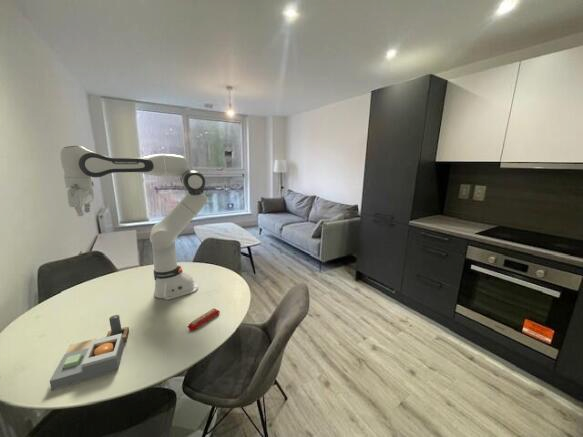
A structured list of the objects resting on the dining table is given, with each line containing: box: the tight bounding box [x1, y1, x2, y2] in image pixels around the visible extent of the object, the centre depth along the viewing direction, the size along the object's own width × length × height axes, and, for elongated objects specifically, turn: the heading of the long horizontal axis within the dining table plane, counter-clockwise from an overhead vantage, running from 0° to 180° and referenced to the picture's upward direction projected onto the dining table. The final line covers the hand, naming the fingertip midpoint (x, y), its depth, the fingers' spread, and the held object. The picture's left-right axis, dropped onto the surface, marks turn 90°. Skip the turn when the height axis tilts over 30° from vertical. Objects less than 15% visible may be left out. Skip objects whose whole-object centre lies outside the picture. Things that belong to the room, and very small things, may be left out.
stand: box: [106, 326, 130, 344], centre depth 95 cm, size 7×7×2 cm
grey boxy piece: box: [49, 333, 125, 391], centre depth 81 cm, size 17×12×6 cm
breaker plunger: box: [94, 343, 114, 356], centre depth 83 cm, size 5×5×3 cm
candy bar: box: [187, 307, 221, 332], centre depth 107 cm, size 16×4×3 cm, turn 149°
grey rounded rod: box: [108, 314, 122, 336], centre depth 94 cm, size 3×3×10 cm
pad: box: [64, 338, 97, 355], centre depth 89 cm, size 8×8×1 cm
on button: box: [64, 354, 82, 369], centre depth 79 cm, size 4×4×3 cm
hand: (84, 214), depth 107 cm, fingers open, 8 cm apart
